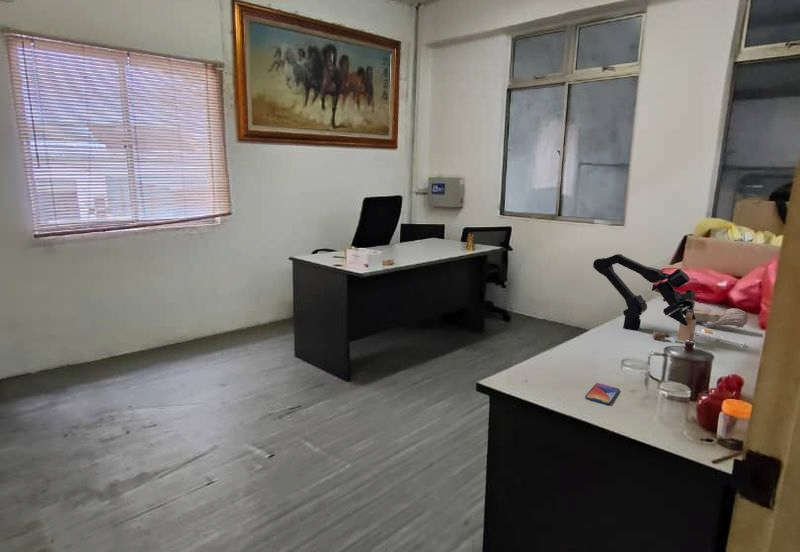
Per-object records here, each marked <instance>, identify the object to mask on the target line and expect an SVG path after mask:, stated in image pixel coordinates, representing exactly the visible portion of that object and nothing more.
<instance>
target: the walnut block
mask: <svg viewBox="0 0 800 552" xmlns="http://www.w3.org/2000/svg"><path fill="white" fill-rule="evenodd" d="M665 334H666V333H664V332H662V331H661V332H660V331H653V334H652V339H653V341H658V342H665V340H666V337H665Z"/></svg>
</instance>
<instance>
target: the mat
mask: <svg viewBox="0 0 800 552" xmlns="http://www.w3.org/2000/svg"><path fill="white" fill-rule="evenodd" d="M673 338H674V343H675V344H681V345H684V344H683V343H684V341H681V340H678V339H677V338H678V335H677V336H676V335H674V336H673ZM693 342H695V345H696V346H697V342H696V339H694V338H693Z"/></svg>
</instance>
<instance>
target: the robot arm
mask: <svg viewBox="0 0 800 552" xmlns="http://www.w3.org/2000/svg"><path fill="white" fill-rule="evenodd" d="M592 264H593V265H592V268H593V269H594V270H595V271H597V272H598V273H599V274H600V275H603V277H605V278H606V279H607V281H609V282H610V283H611V285H612V286H613V287H614V288H615V290H616V291H617V292H618V294H620V295H621V297H622V298H623V300H625V301H624V302H625V304H626V306H627V308H626V309H625V310H623V312H622V313H623V316H624V320H623V326H622V328H623V329H628V330H633V331H639V330H640V329H641V322H642V320H641V315H642V314H643V313H644V312H646V311H647V309H648V305H647V301H646V300H645V299H644V298H643V296H642V295H641V294H638V295H635V294H634V292H632V290H631V289H630V288H629V287H628V286H627V285H626V284H625V282H624V281H623V280H622V279H621V278H620V277H619V275H618V274H617V273H616V272H615V270H614V266H613V265H616V264H618V265H620V266H622V267H625V268H627V269H628V270H631V271H633V272H636V273H638V274H639V275H640V276H641V277H642V278H643V279H645V280H646V281H648V282H649V283H650V284H651V283H653V284H652V288H651V291H652V292H655V291H658V292H659V294H660V295H661V297H662V301H663V302H666V303H667V305H668V306H666V307H665V308H663V311H662V312H663V313H664V315H665V316H667V317H669V318H671V319H673V320H675V321H676V322H678V323H679V324H680V323H682V324H683V325H685V326H687V325H688V323H687V321H686V320H685V318H684V317H686V312H687V311H686V309H693V308H694V307H696V306H695V304H696V302H695V301H694V299H697V296H696V295H697V294H696V292H695V291H694V290H693V289H689V290H688V289H687V290H686V292H685V293H681V292H680V291H677V290H676V289H674V288H677V289H679V288H680V287H683V286H684V285H685V284H687V283H688V282H690V281H691V278H690V277H689V275H688V273H685V271H683V270H682V269H681V268H677V269H675V271H674V272H672V273H670V274H669V273H667V272H666V273H665V272H664V271H663V270H661V269H659V268H655V267H652V266H646V265H643V264H641V263H639V262H638V261H635V260H633V259H631V258H629V257H627V256H624V255H623V254H620V253H617V254H613V255H612V256H608V257H602V258H601V257H600V258H596V259H595V260H594V261H593V263H592ZM658 282H659V283H658ZM655 283H657V284H655ZM692 319H695V320H696V318H695V315H694V312H693V316H692ZM696 323H698V322H697V320H696Z"/></svg>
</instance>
